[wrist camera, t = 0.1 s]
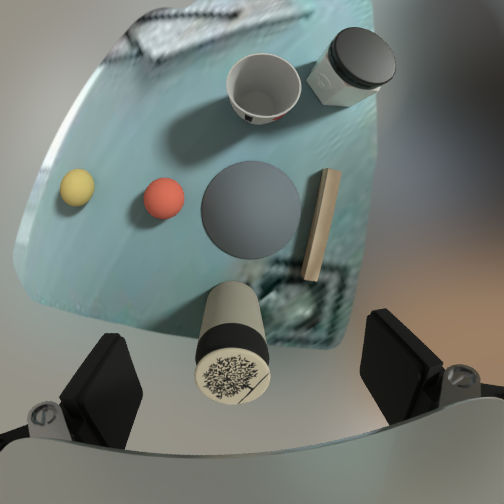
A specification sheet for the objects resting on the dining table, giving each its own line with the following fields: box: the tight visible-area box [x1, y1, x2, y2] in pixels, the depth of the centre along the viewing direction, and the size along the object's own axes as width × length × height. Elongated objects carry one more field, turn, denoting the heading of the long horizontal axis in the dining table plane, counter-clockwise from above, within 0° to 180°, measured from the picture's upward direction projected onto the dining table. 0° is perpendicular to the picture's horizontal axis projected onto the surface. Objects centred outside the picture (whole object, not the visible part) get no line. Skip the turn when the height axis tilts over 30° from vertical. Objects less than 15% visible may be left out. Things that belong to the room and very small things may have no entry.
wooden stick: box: [300, 168, 342, 281], centre depth 39 cm, size 2×16×2 cm, turn 170°
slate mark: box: [202, 161, 301, 259], centre depth 39 cm, size 14×14×1 cm
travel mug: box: [195, 281, 270, 405], centre depth 34 cm, size 8×8×18 cm
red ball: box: [144, 178, 184, 219], centre depth 36 cm, size 6×6×6 cm
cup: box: [226, 53, 301, 125], centre depth 31 cm, size 8×8×10 cm
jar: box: [306, 27, 396, 107], centre depth 30 cm, size 9×8×12 cm
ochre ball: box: [60, 169, 94, 206], centre depth 34 cm, size 6×6×6 cm
